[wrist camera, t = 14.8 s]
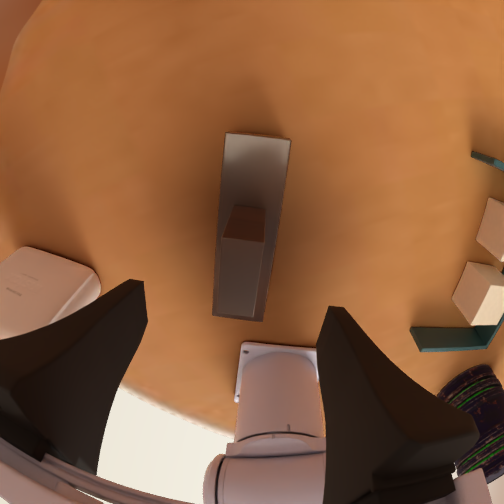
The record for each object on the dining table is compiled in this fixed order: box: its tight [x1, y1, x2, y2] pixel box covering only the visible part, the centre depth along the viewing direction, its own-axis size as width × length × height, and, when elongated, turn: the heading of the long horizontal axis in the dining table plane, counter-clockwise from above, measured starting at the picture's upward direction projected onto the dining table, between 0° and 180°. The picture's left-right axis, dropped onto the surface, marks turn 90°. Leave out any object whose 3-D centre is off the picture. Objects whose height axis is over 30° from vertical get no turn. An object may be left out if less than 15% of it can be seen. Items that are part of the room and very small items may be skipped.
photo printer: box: [0, 247, 101, 340], centre depth 18 cm, size 10×4×12 cm, turn 76°
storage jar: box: [437, 364, 504, 484], centre depth 22 cm, size 10×10×15 cm
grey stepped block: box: [212, 131, 291, 322], centre depth 17 cm, size 12×4×8 cm, turn 174°
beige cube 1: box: [452, 262, 504, 325], centre depth 20 cm, size 4×4×4 cm
